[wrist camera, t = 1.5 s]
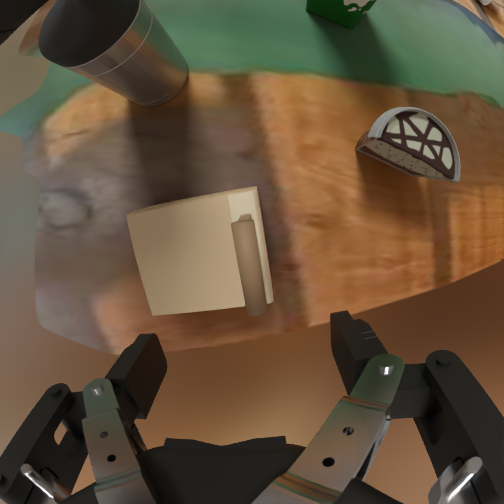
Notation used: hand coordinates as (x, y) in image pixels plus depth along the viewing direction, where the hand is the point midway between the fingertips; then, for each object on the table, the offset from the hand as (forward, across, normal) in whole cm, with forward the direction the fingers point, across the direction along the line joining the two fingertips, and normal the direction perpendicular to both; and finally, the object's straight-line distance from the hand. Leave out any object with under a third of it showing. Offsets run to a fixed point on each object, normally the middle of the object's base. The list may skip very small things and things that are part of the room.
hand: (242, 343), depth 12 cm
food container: (+25, -20, -10) cm, 34 cm away
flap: (+16, +6, 0) cm, 17 cm away
